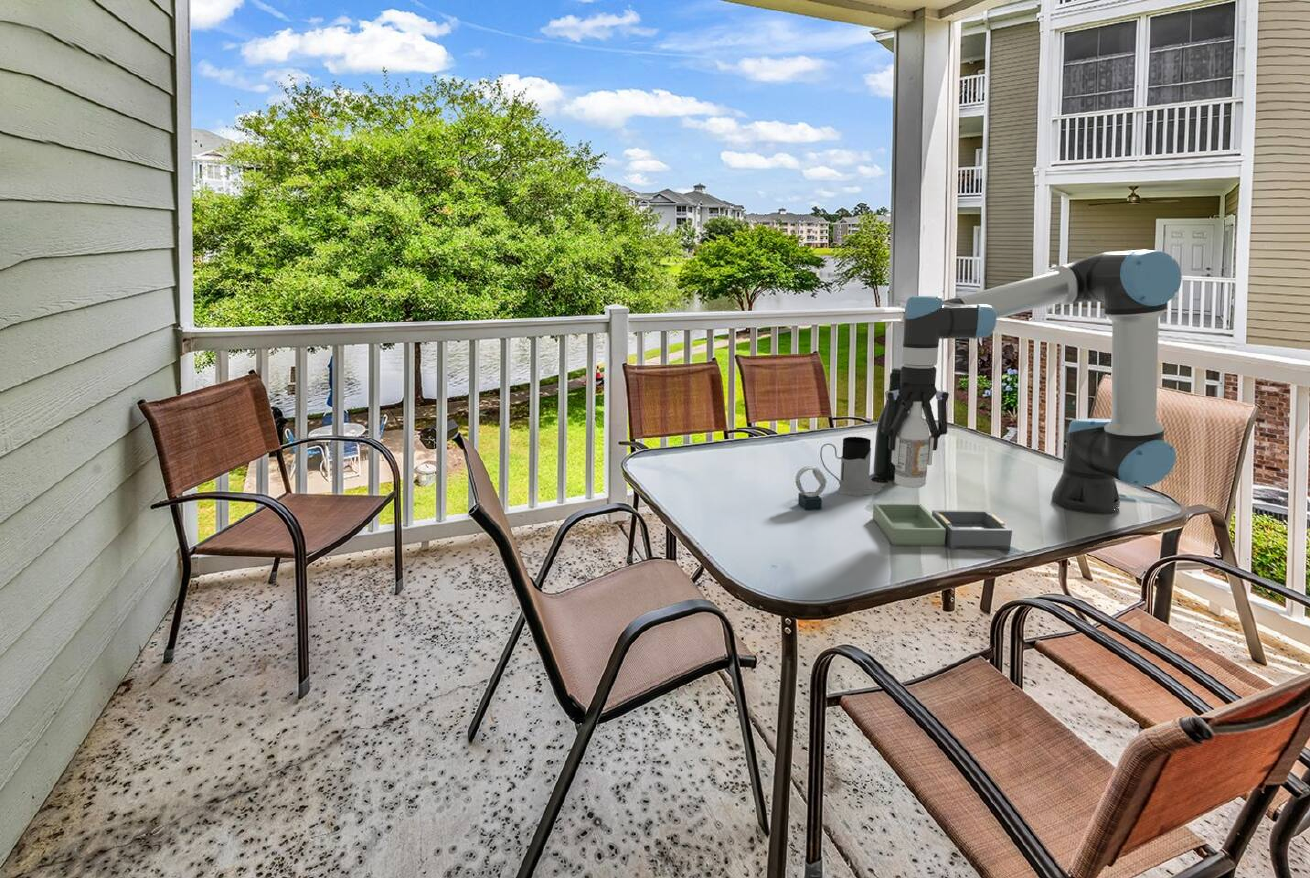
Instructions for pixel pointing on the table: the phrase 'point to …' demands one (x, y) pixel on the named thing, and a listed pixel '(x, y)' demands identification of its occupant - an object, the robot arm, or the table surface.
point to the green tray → (908, 525)
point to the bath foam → (913, 449)
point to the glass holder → (853, 466)
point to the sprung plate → (969, 526)
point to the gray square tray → (974, 530)
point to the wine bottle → (882, 453)
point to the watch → (811, 498)
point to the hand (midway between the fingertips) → (911, 463)
